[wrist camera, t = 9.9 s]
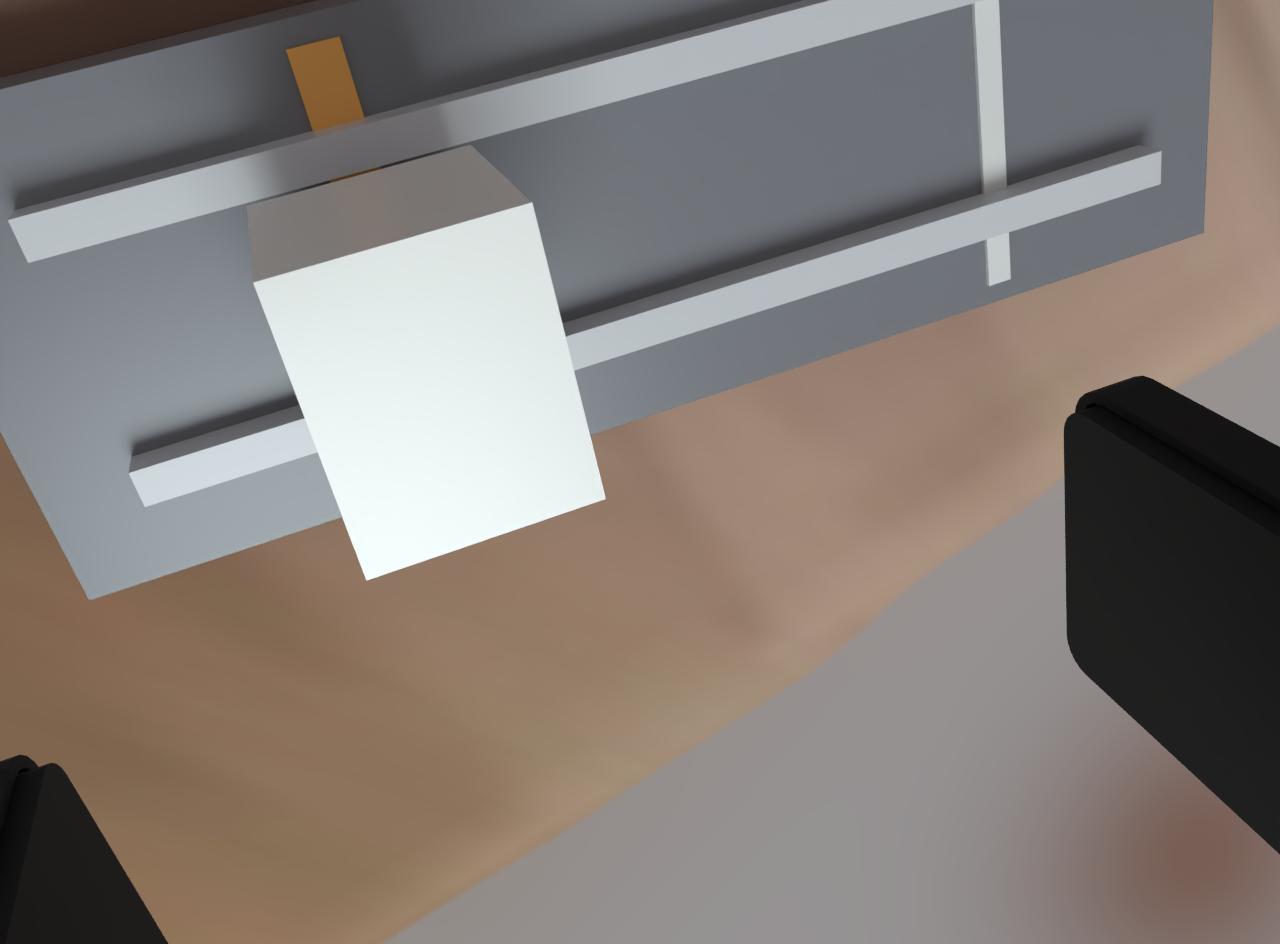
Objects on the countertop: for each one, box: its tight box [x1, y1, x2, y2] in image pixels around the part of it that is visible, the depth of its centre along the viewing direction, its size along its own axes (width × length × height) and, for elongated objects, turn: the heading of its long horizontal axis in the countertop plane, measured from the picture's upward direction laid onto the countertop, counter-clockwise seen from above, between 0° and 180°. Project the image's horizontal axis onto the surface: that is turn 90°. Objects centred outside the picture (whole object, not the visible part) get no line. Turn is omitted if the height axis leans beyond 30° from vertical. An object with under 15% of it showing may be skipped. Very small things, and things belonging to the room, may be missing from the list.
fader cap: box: [247, 145, 606, 580], centre depth 20 cm, size 4×5×7 cm
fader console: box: [0, 0, 1213, 600], centre depth 25 cm, size 28×10×3 cm, turn 102°
